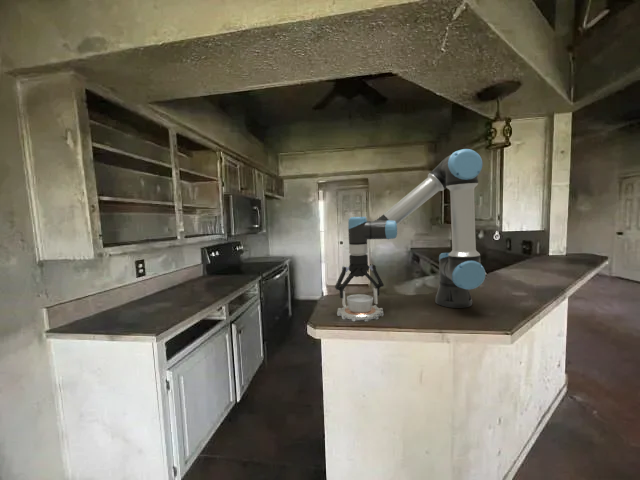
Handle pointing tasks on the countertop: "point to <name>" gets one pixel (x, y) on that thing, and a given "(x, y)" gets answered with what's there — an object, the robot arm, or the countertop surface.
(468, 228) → the robot arm
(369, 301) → the ramekin
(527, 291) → the countertop surface
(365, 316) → the plate
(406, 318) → the countertop surface
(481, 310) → the countertop surface
